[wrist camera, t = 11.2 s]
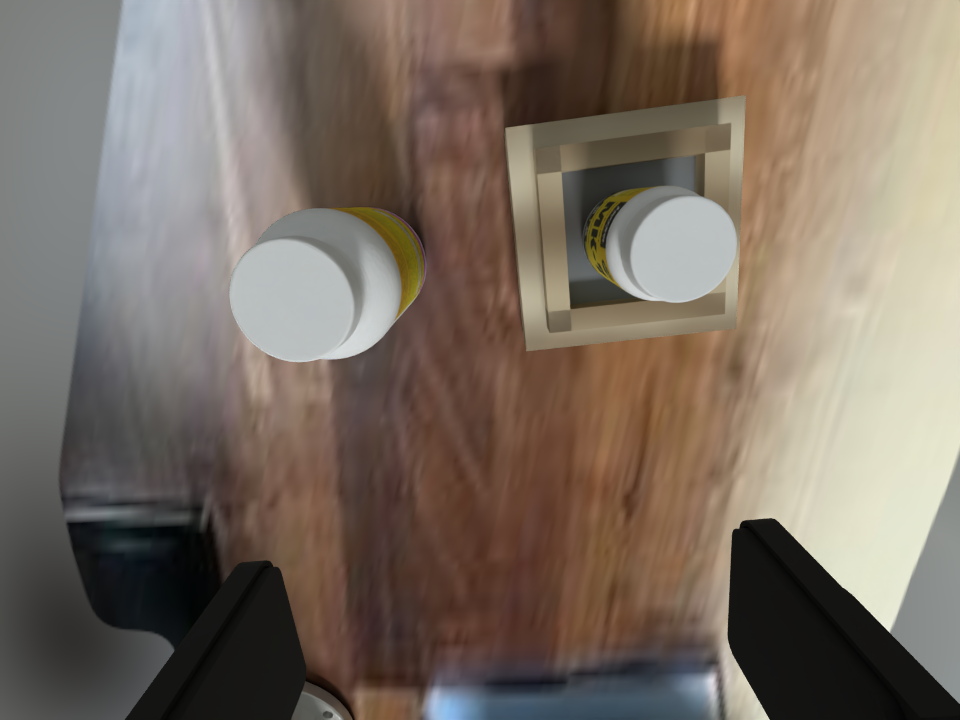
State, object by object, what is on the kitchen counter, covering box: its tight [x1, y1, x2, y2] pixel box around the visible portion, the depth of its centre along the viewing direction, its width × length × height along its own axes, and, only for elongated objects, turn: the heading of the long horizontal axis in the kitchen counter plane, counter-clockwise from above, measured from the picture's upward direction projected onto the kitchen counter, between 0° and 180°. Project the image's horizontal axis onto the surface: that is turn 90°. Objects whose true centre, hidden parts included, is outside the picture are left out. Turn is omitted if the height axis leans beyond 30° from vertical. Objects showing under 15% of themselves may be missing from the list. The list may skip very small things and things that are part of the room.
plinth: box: [504, 95, 746, 351], centre depth 27 cm, size 12×12×4 cm
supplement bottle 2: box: [583, 186, 737, 303], centre depth 22 cm, size 5×5×8 cm
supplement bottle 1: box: [229, 207, 426, 362], centre depth 24 cm, size 7×7×13 cm
